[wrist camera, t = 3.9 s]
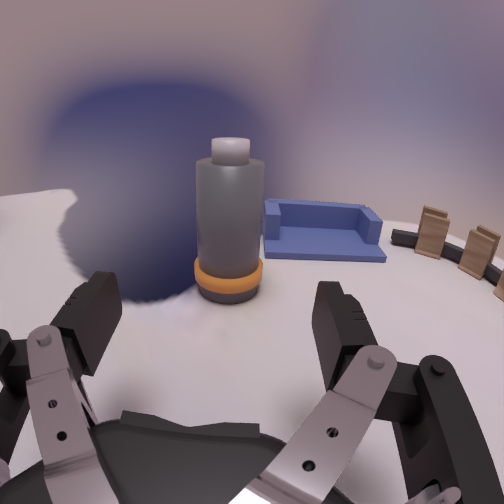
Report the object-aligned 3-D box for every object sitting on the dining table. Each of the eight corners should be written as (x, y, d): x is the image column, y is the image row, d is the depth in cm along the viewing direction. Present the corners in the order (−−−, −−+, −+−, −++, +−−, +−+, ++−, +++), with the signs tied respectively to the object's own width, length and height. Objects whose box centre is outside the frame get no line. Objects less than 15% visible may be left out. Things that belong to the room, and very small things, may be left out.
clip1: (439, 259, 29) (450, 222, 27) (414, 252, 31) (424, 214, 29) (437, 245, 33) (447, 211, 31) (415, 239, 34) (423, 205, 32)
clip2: (479, 280, 26) (493, 242, 24) (457, 267, 28) (470, 230, 26) (488, 270, 28) (501, 235, 26) (469, 259, 30) (479, 224, 28)
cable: (388, 240, 32) (390, 230, 32) (398, 232, 34) (400, 223, 34) (513, 294, 23) (517, 285, 22) (513, 281, 25) (516, 272, 24)
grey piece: (182, 293, 23) (175, 141, 18) (217, 264, 27) (218, 134, 22) (242, 314, 21) (248, 147, 16) (271, 280, 25) (282, 139, 20)
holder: (385, 262, 28) (392, 232, 27) (265, 258, 28) (267, 225, 27) (362, 230, 35) (367, 205, 34) (262, 225, 35) (264, 198, 33)
